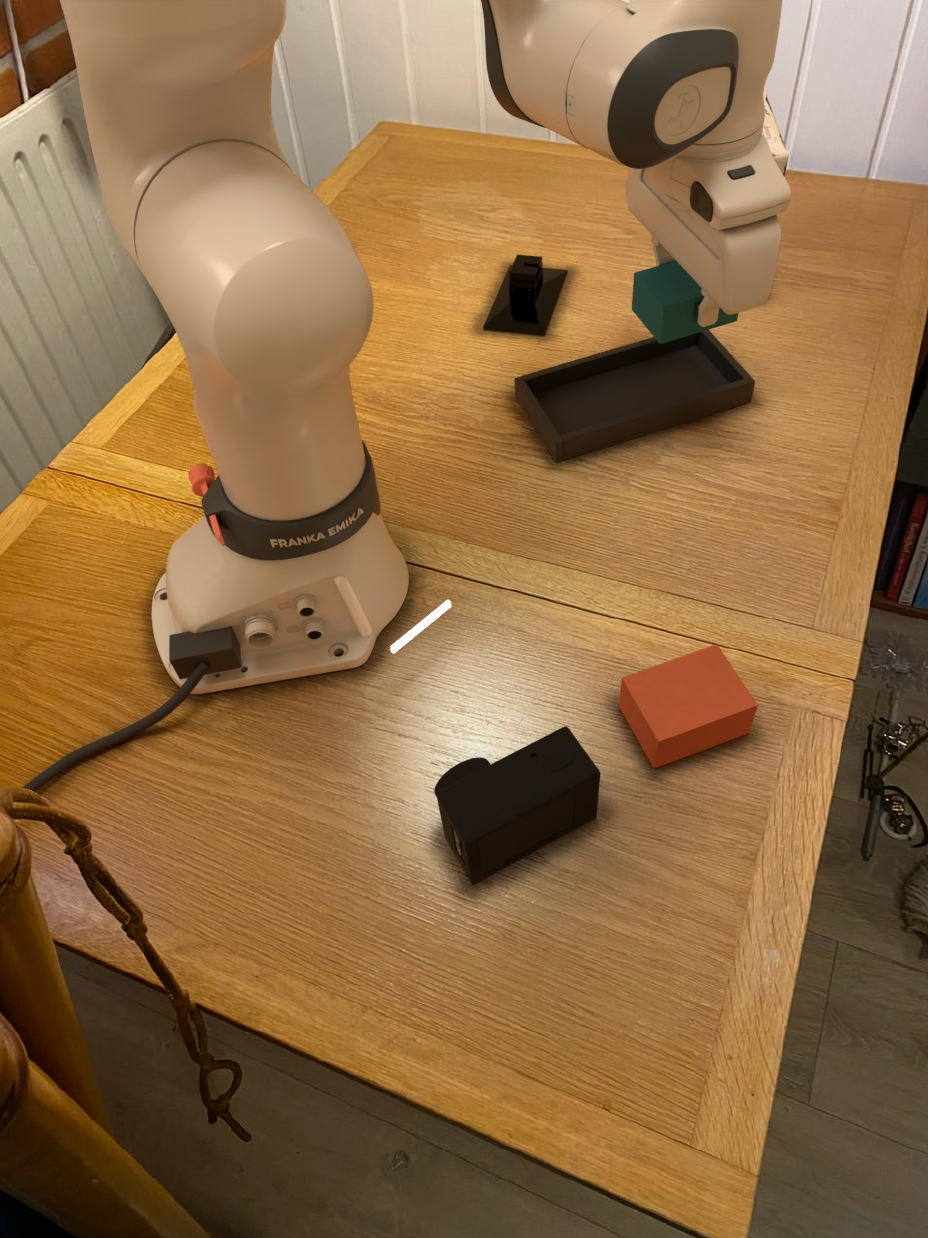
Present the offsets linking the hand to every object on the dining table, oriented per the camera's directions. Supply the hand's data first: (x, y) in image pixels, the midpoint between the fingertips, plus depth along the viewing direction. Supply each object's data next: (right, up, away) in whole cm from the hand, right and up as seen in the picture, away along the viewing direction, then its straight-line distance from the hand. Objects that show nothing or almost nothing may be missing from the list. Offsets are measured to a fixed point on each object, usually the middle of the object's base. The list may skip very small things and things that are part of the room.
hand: (685, 300), depth 89 cm
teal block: (0, -1, +1) cm, 2 cm away
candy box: (+9, +10, +20) cm, 25 cm away
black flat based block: (-14, +6, +19) cm, 24 cm away
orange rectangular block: (-4, -38, -16) cm, 41 cm away
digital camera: (-17, -45, -20) cm, 52 cm away
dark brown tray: (-4, -8, +7) cm, 11 cm away
